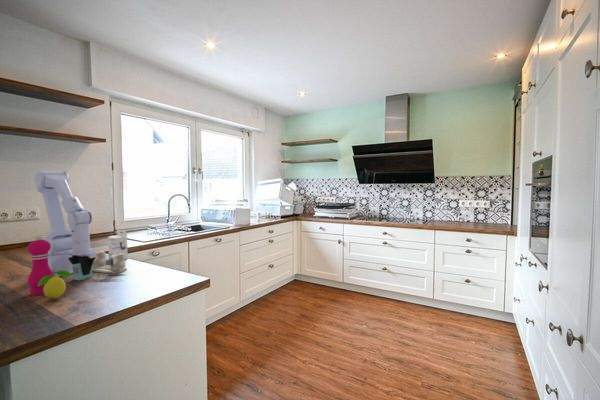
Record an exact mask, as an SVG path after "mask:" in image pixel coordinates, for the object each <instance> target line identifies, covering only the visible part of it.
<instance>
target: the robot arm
mask: <svg viewBox="0 0 600 400" xmlns="http://www.w3.org/2000/svg"><path fill="white" fill-rule="evenodd" d="M69 182H70V177H69V174H68V173H67V171H66V170H61V171H59V170H58V171H57V170H55V171H54V170H53V171H52V170H40V169H39V170H37V172H35V176H34V183H35V186H36V190H37V192H38V193H40V194H42V197H43V202H44V207H45V210H46V214H47V218H48V219H47V220H48V223H49V227H50V232H49V233H47V234H46V235H45V237H44V239H43V240H46V241H48V242H49V243H50V245H51V248H50V250H49V251H48V253H49V257H48V265H49V267H50V269H51V270H52V271H53V269H54V271H55V272H54V275H55V276H56V277H61V276H60V275H58V274H57V273H56V272H58V271H62V270H65V271H68V272H69V273H70V274H71V275H72V274H73V268H72V264H77V263H80V265H81V268H82V273H83V275H88V274H90V271H91V267H92V264H93V261H94V260H95V258H96V252H97V251H94V249H92V248H91V238H90V237H91V236H90V224H91V223H92V220H93V216H92V213H91V211H90V210H89V209H87V208H84V206H83V205H82V203H81V202H80V199H79V198H78V197H77V196H74V195H73V193H72V190H71V189H70V187H69ZM59 197H60V198H61V200H60V198H59ZM60 201H61V202H60ZM62 208H63V210H64V211H65V213H66V215H67V218H66V220H65V218H64V214H63V210H62ZM65 221H67V224H68V228H67V226H66V222H65ZM92 268H93V267H92Z"/></svg>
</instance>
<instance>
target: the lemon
mask: <svg viewBox="0 0 600 400" xmlns="http://www.w3.org/2000/svg"><path fill="white" fill-rule="evenodd" d="M54 272H55V271H54V269H53V274H52V275H53V276H52V275H48V276H45V277H43V278H42V279H41V280H40V281H39V283H38V286H40V285H42V284H44V283H45V284H44V288H43V291H44V294H43V295H44V296H45V297H46V298H49V299H53V300H57V299H58V298H59V297H60V296H62V295H63V294H64V293H65V292H66V289H67V287H66V282H65V281H64V279H63V277H64V278H68V277H69V278H70V277H73V274H72V273H71V274H70V273H69V272H68V271H65V270H62V271H58V272H56V273H57V274H58V275H60V276H59V277H56V276H54ZM51 276H52V277H51ZM50 277H51V278H50Z"/></svg>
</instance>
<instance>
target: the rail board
mask: <svg viewBox="0 0 600 400" xmlns="http://www.w3.org/2000/svg"><path fill="white" fill-rule="evenodd" d="M95 252H96V258H95V260H94V261H93V264H92V270H93V272H98V273H103V274H111V275H115V274H118V273H122V272H125V271H127V270H128V269H127V267H126V260H125V254H122V253H121V254H117V255H113V256H110V259H109V260H110V265H108V264H106V252H105V251H102V250H101V251H95Z"/></svg>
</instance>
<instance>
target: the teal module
mask: <svg viewBox="0 0 600 400" xmlns="http://www.w3.org/2000/svg"><path fill="white" fill-rule="evenodd" d="M72 268H73V273H72V279H73V280H74V281H75V280H76V281H82V280H86V279H89V278H93V277H94V273H93V272H94V271H93V270H92V268H93V267H91V271H90V274H88V275H83V273H82V268H81V265H80V263H77V264H72Z"/></svg>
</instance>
